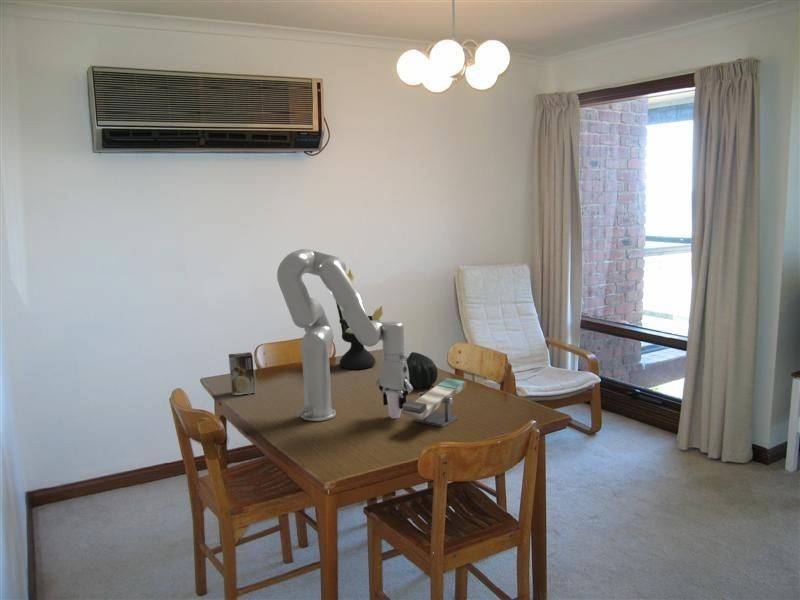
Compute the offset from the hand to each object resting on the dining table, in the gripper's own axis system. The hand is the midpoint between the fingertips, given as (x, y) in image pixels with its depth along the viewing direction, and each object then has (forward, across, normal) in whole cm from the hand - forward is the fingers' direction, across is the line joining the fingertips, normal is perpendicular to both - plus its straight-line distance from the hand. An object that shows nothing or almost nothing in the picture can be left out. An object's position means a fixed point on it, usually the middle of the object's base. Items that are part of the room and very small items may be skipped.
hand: (394, 405), depth 236 cm
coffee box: (+4, +69, +10) cm, 70 cm away
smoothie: (+4, 0, 0) cm, 4 cm away
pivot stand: (+4, -14, -5) cm, 15 cm away
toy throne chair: (+4, +59, -48) cm, 76 cm away
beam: (-4, -14, -5) cm, 15 cm away
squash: (+4, +14, -36) cm, 39 cm away
